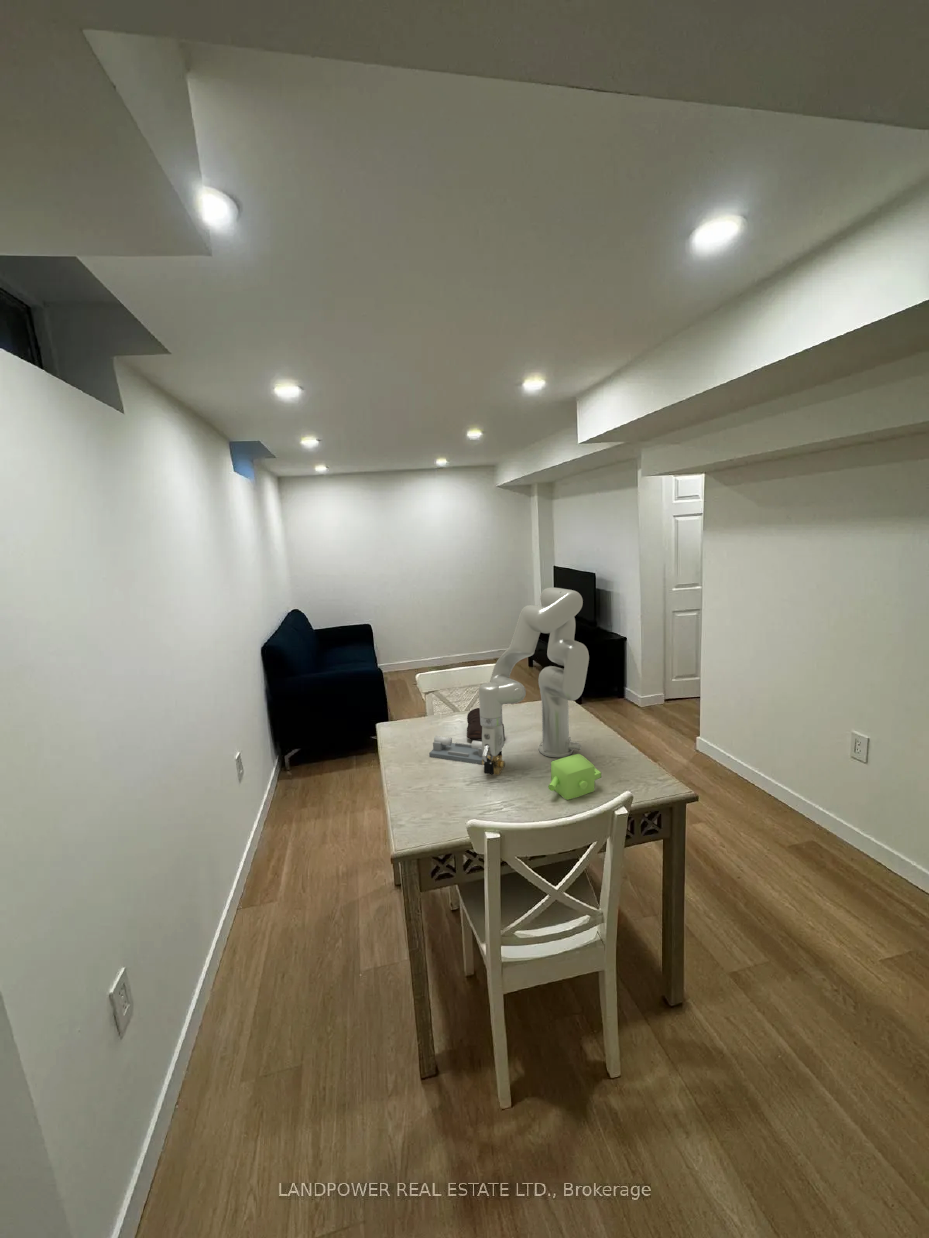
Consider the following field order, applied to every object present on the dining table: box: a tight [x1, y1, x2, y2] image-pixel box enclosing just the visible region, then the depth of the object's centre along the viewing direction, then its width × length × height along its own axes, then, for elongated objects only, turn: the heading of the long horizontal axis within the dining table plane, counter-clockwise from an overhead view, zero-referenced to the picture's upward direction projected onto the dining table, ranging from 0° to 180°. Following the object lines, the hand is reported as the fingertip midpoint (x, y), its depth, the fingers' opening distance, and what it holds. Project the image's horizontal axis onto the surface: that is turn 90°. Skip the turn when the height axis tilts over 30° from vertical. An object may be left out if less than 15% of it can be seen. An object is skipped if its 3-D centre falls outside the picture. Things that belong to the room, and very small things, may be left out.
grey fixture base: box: [428, 735, 491, 765], centre depth 180 cm, size 22×10×6 cm, turn 68°
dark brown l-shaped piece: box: [466, 707, 506, 741], centre depth 195 cm, size 10×15×15 cm
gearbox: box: [547, 753, 602, 801], centre depth 152 cm, size 18×10×10 cm, turn 113°
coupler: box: [481, 754, 506, 776], centre depth 168 cm, size 7×4×5 cm, turn 68°
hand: (493, 767), depth 168 cm, fingers open, 8 cm apart
